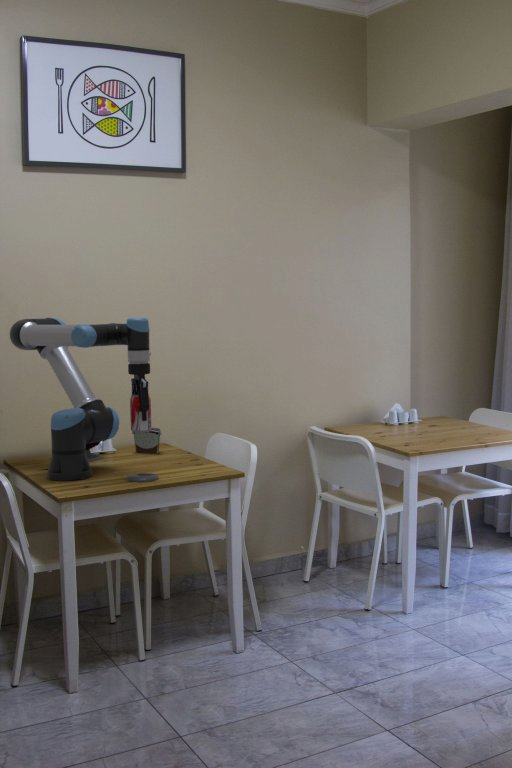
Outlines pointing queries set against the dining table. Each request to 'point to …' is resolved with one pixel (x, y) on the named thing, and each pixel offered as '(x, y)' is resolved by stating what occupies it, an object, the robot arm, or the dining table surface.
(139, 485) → the dining table surface
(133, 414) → the soda can
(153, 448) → the food container
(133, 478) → the slate coaster
